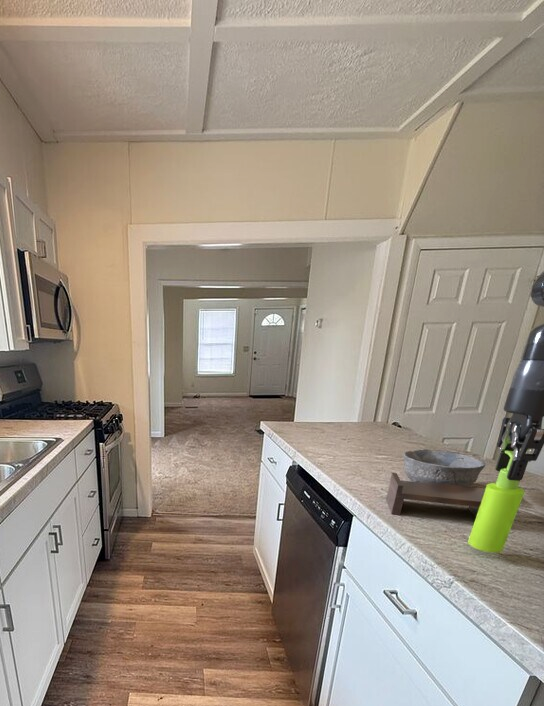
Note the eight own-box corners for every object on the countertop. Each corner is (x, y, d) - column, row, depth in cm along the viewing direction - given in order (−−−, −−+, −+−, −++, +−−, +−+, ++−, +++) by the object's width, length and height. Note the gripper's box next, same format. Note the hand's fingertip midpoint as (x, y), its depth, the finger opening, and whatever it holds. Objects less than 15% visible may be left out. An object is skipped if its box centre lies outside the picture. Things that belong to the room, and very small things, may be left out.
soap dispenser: (496, 539, 87) (530, 450, 78) (506, 554, 81) (542, 460, 73) (464, 534, 89) (493, 447, 81) (471, 549, 83) (502, 457, 75)
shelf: (476, 509, 108) (486, 481, 105) (492, 526, 98) (502, 495, 95) (385, 499, 116) (391, 472, 113) (391, 514, 106) (398, 485, 102)
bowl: (479, 506, 110) (490, 471, 107) (394, 493, 120) (402, 460, 117) (472, 485, 127) (482, 454, 123) (398, 475, 137) (405, 446, 133)
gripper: (585, 390, 65) (548, 488, 72) (544, 383, 78) (516, 467, 84) (528, 389, 68) (497, 484, 74) (497, 382, 80) (473, 464, 87)
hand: (507, 475), depth 79 cm, fingers closed on soap dispenser, 5 cm apart
